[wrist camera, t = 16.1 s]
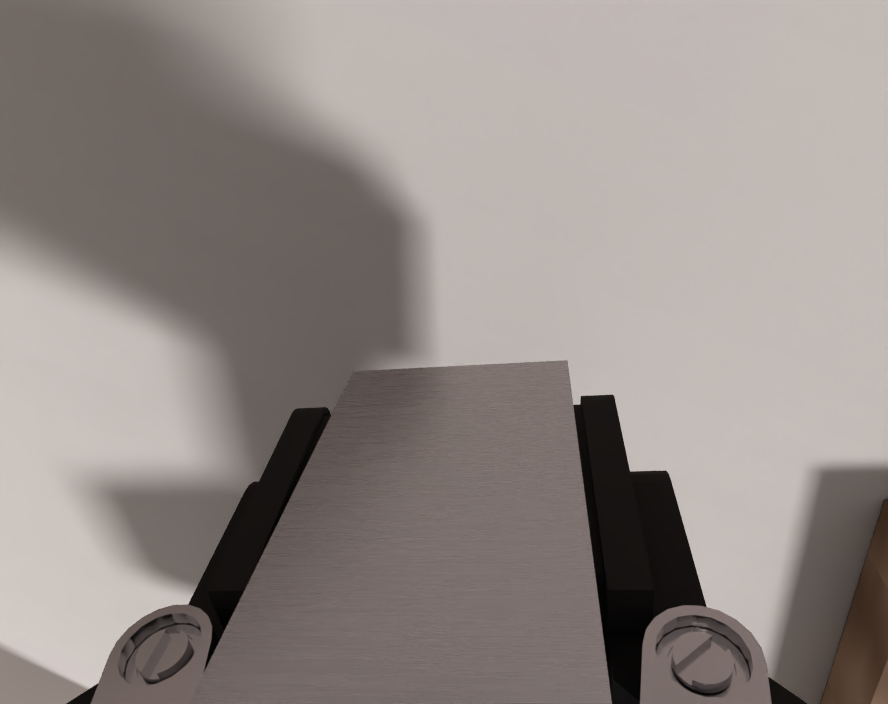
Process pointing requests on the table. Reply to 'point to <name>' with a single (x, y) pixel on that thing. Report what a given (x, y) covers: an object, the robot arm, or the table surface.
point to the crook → (428, 553)
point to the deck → (865, 632)
